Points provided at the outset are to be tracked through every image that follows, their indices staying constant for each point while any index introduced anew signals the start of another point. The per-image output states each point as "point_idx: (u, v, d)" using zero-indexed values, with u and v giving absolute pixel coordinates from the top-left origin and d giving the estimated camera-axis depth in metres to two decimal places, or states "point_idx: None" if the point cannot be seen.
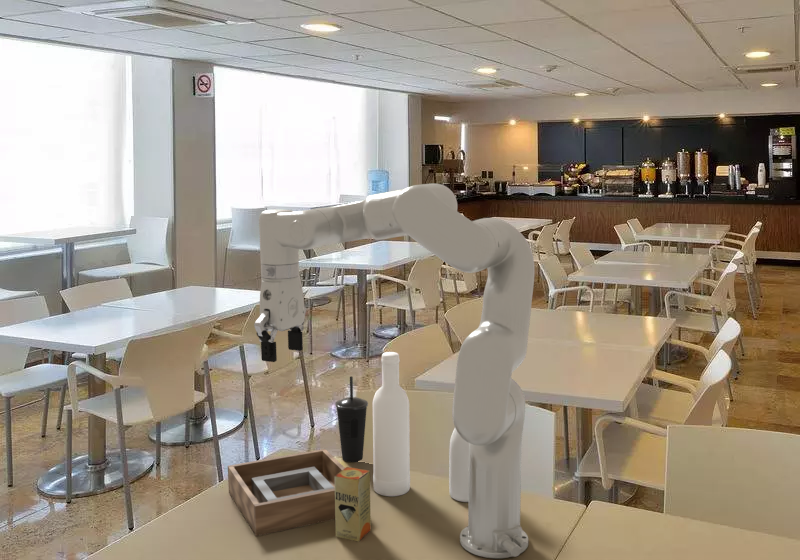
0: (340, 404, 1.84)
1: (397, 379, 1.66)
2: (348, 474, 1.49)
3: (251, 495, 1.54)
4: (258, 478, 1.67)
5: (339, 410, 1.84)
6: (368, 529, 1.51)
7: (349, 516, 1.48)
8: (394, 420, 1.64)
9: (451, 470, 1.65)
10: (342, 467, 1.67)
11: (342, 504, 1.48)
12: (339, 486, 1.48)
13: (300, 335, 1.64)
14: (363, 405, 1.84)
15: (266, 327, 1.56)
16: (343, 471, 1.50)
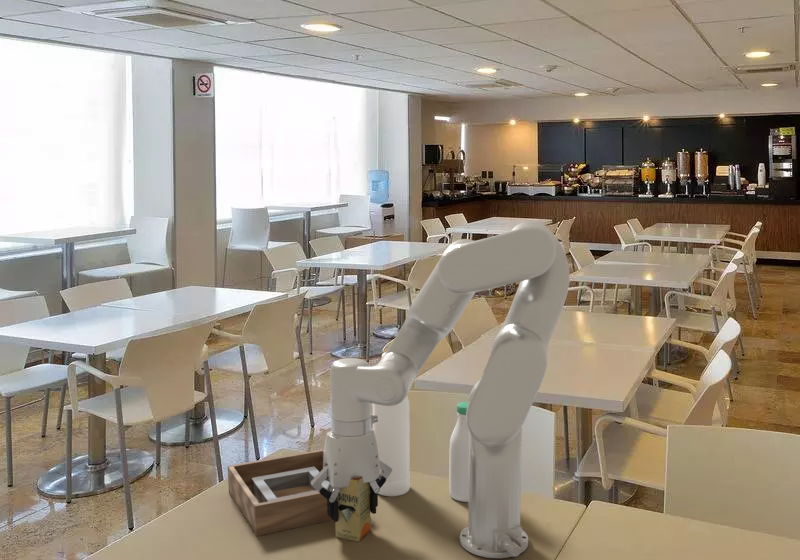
0: None
1: None
2: None
3: (251, 495, 1.54)
4: (258, 478, 1.67)
5: None
6: (368, 529, 1.51)
7: (349, 516, 1.48)
8: (394, 420, 1.64)
9: (451, 470, 1.65)
10: None
11: (342, 504, 1.48)
12: None
13: None
14: None
15: None
16: None
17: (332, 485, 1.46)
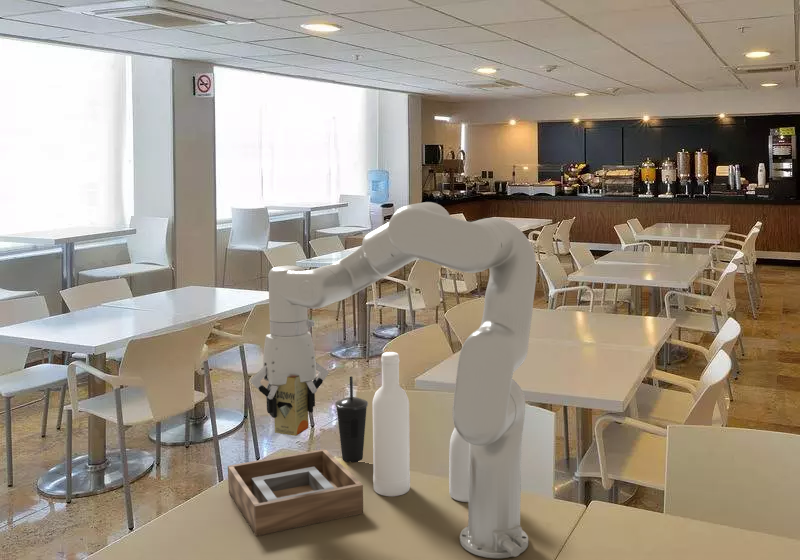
0: (340, 404, 1.84)
1: (397, 379, 1.66)
2: None
3: (251, 495, 1.54)
4: (258, 478, 1.67)
5: (339, 410, 1.84)
6: (306, 427, 1.62)
7: (287, 412, 1.59)
8: (394, 420, 1.64)
9: (451, 470, 1.65)
10: (342, 467, 1.67)
11: (280, 402, 1.59)
12: None
13: None
14: (363, 405, 1.84)
15: None
16: None
17: (270, 382, 1.57)
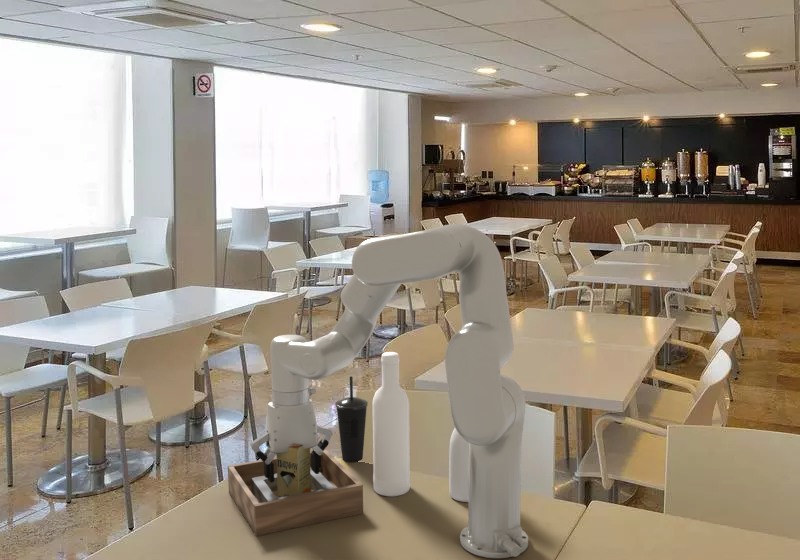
0: (340, 404, 1.84)
1: (397, 379, 1.66)
2: None
3: (251, 495, 1.54)
4: (258, 478, 1.67)
5: (339, 410, 1.84)
6: None
7: (290, 481, 1.61)
8: (394, 420, 1.64)
9: (451, 470, 1.65)
10: (342, 467, 1.67)
11: (283, 471, 1.61)
12: (280, 454, 1.61)
13: None
14: (363, 405, 1.84)
15: None
16: None
17: (272, 450, 1.59)
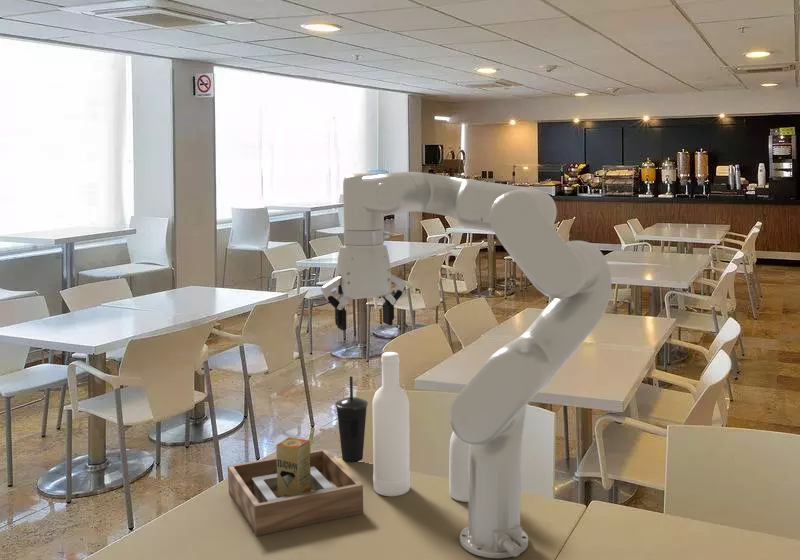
0: (340, 404, 1.84)
1: (397, 379, 1.66)
2: (289, 443, 1.62)
3: (251, 495, 1.54)
4: (258, 478, 1.67)
5: (339, 410, 1.84)
6: None
7: (290, 481, 1.61)
8: (394, 420, 1.64)
9: (451, 470, 1.65)
10: (342, 467, 1.67)
11: (283, 471, 1.61)
12: (280, 454, 1.61)
13: None
14: (363, 405, 1.84)
15: None
16: (284, 441, 1.63)
17: (345, 295, 1.49)
